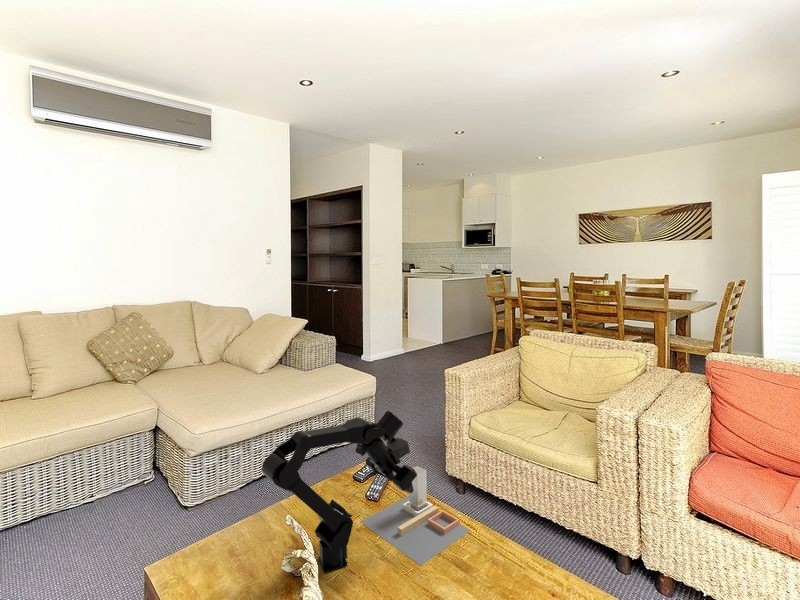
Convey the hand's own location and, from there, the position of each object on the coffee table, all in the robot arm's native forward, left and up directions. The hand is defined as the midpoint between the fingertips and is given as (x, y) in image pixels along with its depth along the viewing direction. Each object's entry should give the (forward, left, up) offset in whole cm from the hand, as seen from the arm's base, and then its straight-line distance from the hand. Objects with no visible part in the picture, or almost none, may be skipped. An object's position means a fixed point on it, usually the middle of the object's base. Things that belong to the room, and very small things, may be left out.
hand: (402, 485), depth 132 cm
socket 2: (+10, -7, -12) cm, 17 cm away
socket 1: (+7, +4, -12) cm, 14 cm away
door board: (+2, -4, -13) cm, 14 cm away
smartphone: (-8, +15, -14) cm, 22 cm away
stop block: (+7, +4, -12) cm, 14 cm away
